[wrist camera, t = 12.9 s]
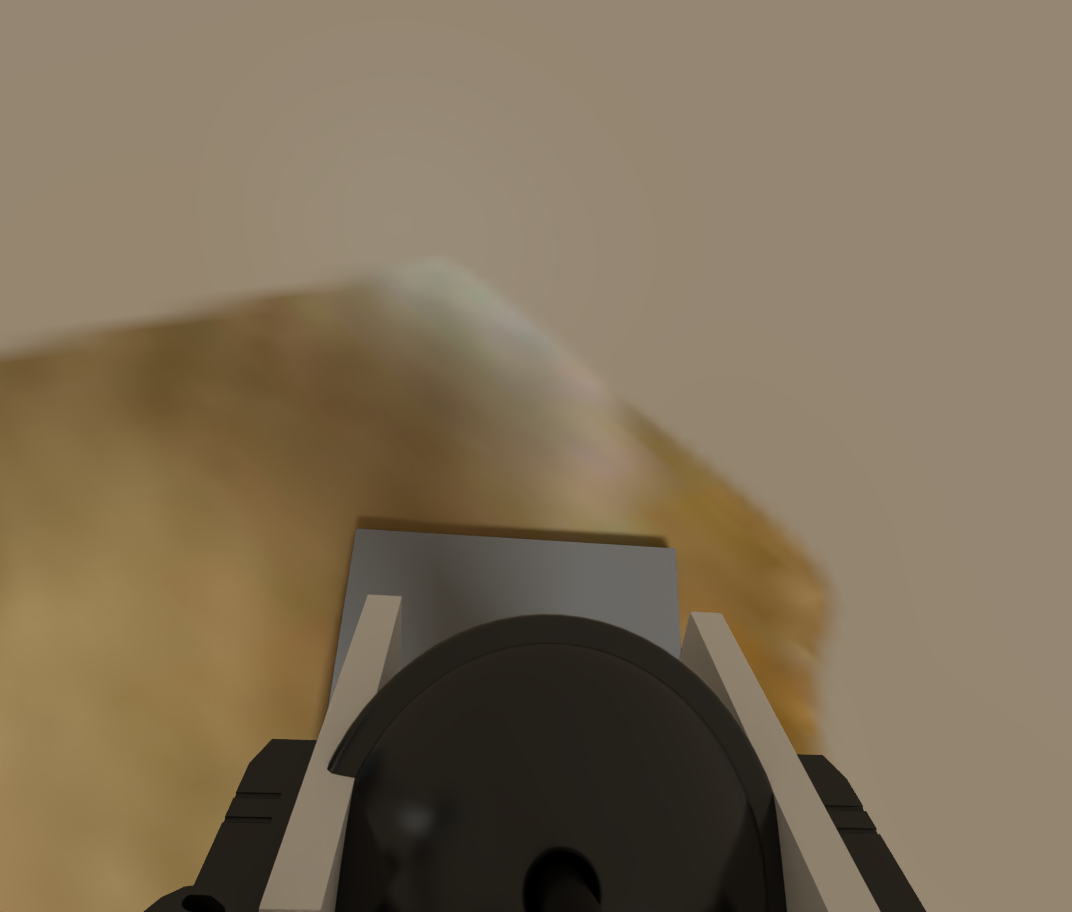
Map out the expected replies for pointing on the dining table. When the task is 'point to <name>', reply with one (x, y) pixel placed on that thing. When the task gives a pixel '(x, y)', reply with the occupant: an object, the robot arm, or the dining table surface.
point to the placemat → (507, 585)
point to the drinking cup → (554, 782)
